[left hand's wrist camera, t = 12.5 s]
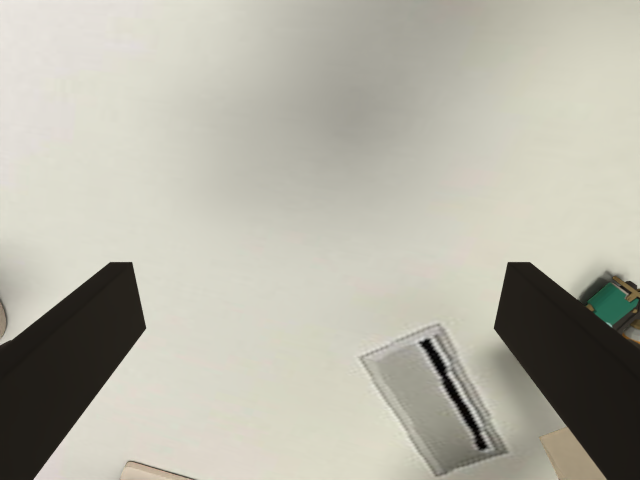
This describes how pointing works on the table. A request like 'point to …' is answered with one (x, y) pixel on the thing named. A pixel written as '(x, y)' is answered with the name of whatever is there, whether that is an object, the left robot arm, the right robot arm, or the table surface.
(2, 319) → the bust sculpture
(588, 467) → the box
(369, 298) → the table surface
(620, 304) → the spray gun
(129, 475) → the tablet stand
